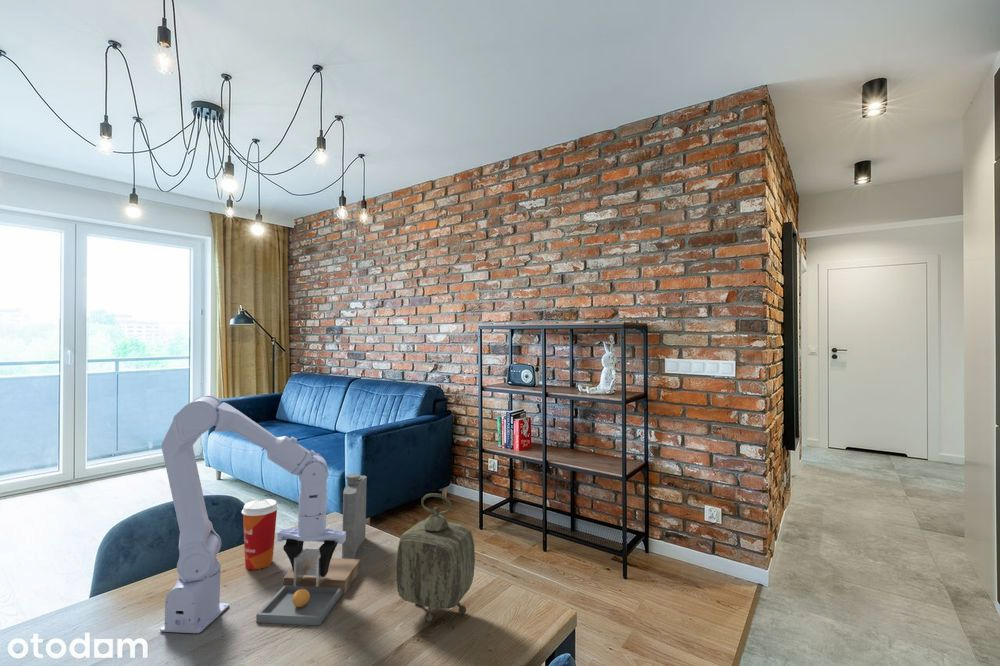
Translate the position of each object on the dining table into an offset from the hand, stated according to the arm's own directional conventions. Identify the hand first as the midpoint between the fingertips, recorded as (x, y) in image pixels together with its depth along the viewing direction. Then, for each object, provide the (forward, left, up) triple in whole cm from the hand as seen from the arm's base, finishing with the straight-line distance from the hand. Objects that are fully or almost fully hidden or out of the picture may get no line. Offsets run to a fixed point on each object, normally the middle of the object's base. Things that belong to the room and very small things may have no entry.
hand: (311, 574), depth 104 cm
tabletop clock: (-5, -28, -5) cm, 29 cm away
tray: (-4, 0, -5) cm, 7 cm away
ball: (-4, 0, -3) cm, 5 cm away
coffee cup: (+13, +19, -5) cm, 24 cm away
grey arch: (0, 0, -1) cm, 1 cm away
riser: (+7, 0, -5) cm, 8 cm away
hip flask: (+23, -1, -5) cm, 24 cm away
